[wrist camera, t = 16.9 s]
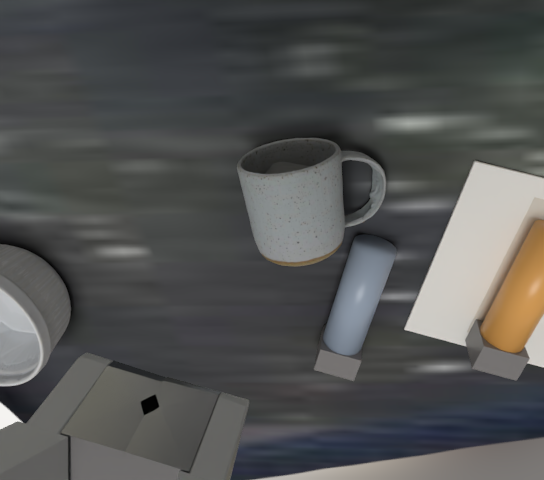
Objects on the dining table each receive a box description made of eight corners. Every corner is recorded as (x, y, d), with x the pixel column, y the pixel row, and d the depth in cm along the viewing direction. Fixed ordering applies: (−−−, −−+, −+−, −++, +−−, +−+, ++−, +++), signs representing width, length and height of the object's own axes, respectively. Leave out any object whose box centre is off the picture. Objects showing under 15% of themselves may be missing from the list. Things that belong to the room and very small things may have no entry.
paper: (474, 160, 37) (474, 161, 36) (669, 208, 36) (671, 210, 35) (404, 327, 44) (404, 329, 44) (562, 370, 43) (563, 373, 43)
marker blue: (353, 230, 41) (351, 251, 38) (396, 241, 41) (398, 263, 38) (318, 343, 47) (313, 369, 44) (355, 353, 47) (353, 381, 44)
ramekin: (-31, 321, 55) (-82, 364, 49) (-45, 216, 48) (-106, 251, 42) (82, 354, 54) (45, 403, 48) (84, 252, 47) (40, 292, 41)
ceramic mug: (266, 232, 43) (248, 278, 36) (248, 143, 39) (225, 175, 33) (388, 221, 40) (393, 268, 34) (380, 125, 37) (384, 157, 30)
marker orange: (527, 215, 37) (541, 237, 34) (576, 227, 37) (594, 250, 34) (465, 340, 43) (471, 368, 40) (506, 351, 43) (516, 380, 40)
